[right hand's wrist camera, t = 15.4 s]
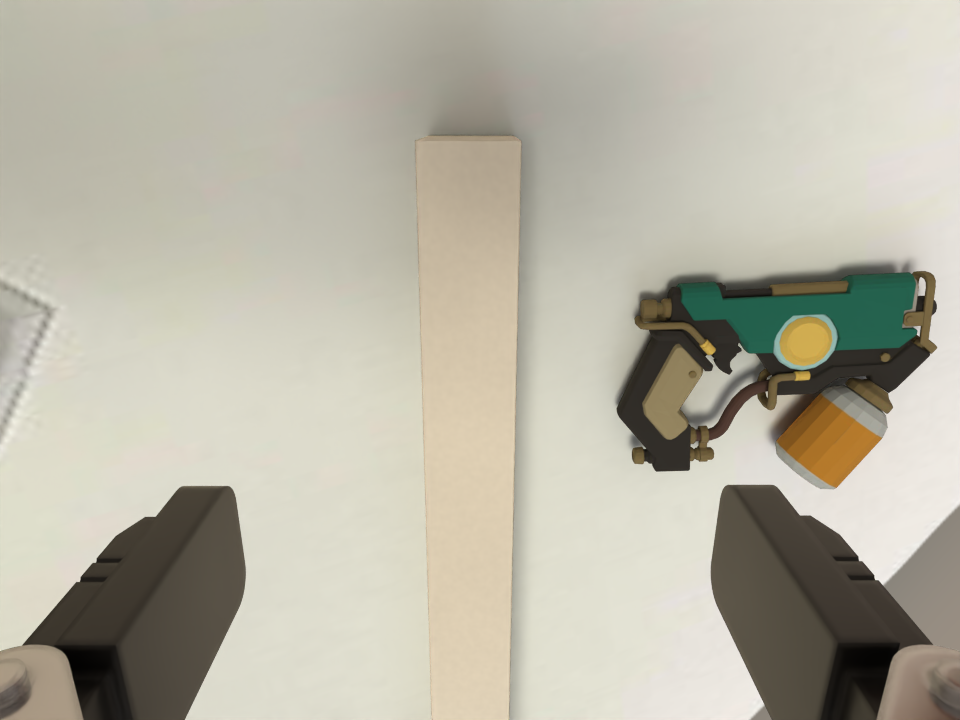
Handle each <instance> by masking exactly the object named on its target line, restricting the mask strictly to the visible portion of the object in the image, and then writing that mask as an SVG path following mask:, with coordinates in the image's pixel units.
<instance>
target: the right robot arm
mask: <svg viewBox="0 0 960 720" xmlns="http://www.w3.org/2000/svg"><path fill="white" fill-rule="evenodd" d="M245 579H246V568H245V560H244V552H243V545H242V538H241V531H240V524H239V517H238V510H237V503H236V497H235V494H234V491H233V490H232V488H231V487H229V486H182V487H180V488H179V489H178V490H177V491H176V492H175V494H174V495H173V496H172V497H171V499H170V500H169V501H168V502H167V504H166V505H165V506H164V507H163V509H162V510H161V511H160V512H159V514H158V515H157V516H156V517H145V518H143V519H141V520H140V521H138V522H137V523H135V524H134V525H132V526H131V527H129V528H128V529H126V530H124V531H123V532H121V533H120V534H118V535H117V536H116V537H115V538H114V539H113V540H112V541H111V542H110V544H109V545H108V546H107V547H106V548H105V549H104V551H103V552H102V553H101V554H100V555H99V556H98V558H97V562H96V563H92V565H91V566H90V567H89V568H88V569H87V570H86V572H85V573H84V574H83V575H82V576H81V580H80V582H76V583H75V584H74V586H73V587H72V588H71V589H70V590H69V591H68V593H67V594H66V595H65V596H64V597H63V598H62V600H61V601H60V602H59V603H58V604H57V605H56V607H55V608H54V609H53V610H52V611H51V612H50V614H49V615H48V616H47V617H46V618H45V619H44V621H43V622H42V623H41V624H40V625H39V626H38V628H37V629H36V630H35V631H34V632H33V633H32V635H31V636H30V637H29V638H28V639H27V640H26V642H25V643H24V644H23V645H22V646H18V647H14V648H9V649H6V650H3V651H0V720H185V718H186V716H187V714H188V712H189V710H190V708H191V706H192V703H193V701H194V699H195V697H196V695H197V693H198V691H199V689H200V687H201V685H202V683H203V681H204V679H205V677H206V675H207V673H208V671H209V668H210V666H211V664H212V662H213V660H214V658H215V656H216V654H217V652H218V650H219V648H220V646H221V644H222V642H223V640H224V638H225V636H226V633H227V631H228V629H229V627H230V625H231V623H232V621H233V619H234V617H235V615H236V613H237V611H238V609H239V606H240V604H241V601H242V598H243V593H244V588H245ZM711 583H712V590H713V595H714V598H715V601H716V604H717V606H718V609H719V611H720V613H721V615H722V617H723V619H724V621H725V623H726V625H727V627H728V629H729V632H730V634H731V636H732V638H733V640H734V642H735V644H736V646H737V648H738V650H739V652H740V654H741V657H742V659H743V661H744V663H745V665H746V667H747V669H748V671H749V673H750V675H751V677H752V679H753V682H754V684H755V686H756V688H757V690H758V692H759V694H760V696H761V698H762V700H763V702H764V704H765V707H766V709H767V711H768V713H769V715H770V717H771V719H772V720H960V651H957V650H954V649H951V648H946V647H942V646H935V645H933V644H932V643H931V642H930V640H929V639H928V638H927V637H926V636H925V635H924V633H923V632H922V631H921V630H920V629H919V628H918V626H917V625H916V624H915V623H914V622H913V620H912V619H911V618H910V617H909V616H908V615H907V613H906V612H905V611H904V610H903V609H902V608H901V606H900V605H899V604H898V603H897V602H896V601H895V599H894V598H893V597H892V596H891V595H890V593H889V592H888V591H887V590H886V589H885V588H884V586H883V585H882V584H881V583H880V582H879V580H875V579H874V575H873V573H872V572H871V571H870V570H869V569H868V567H867V566H866V565H865V564H864V563H863V562H862V561H859V559H858V556H857V555H856V553H855V552H854V551H853V550H852V549H851V547H850V546H849V545H848V544H847V543H846V542H845V540H844V539H843V538H842V537H841V536H840V535H839V534H838V533H836V532H835V531H833V530H832V529H830V528H829V527H827V526H826V525H824V524H823V523H821V522H819V521H818V520H816V519H815V518H813V517H812V516H800V515H799V514H798V513H797V511H796V510H795V509H794V508H793V506H792V505H791V504H790V503H789V501H788V500H787V499H786V498H785V496H784V495H783V494H782V492H781V491H780V490H779V489H778V488H777V487H776V486H774V485H727V486H725V487H724V489H723V491H722V494H721V498H720V504H719V511H718V518H717V526H716V533H715V540H714V547H713V554H712V561H711Z"/></svg>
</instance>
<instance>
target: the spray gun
mask: <svg viewBox="0 0 960 720" xmlns="http://www.w3.org/2000/svg"><path fill="white" fill-rule="evenodd" d="M920 277H922V278H924V279H925V282H926V291H925V296H918V289H919V286H918V283H919V279H920ZM935 283H936V280H935V278H934V275H933V274H931V273H929V272H926V271H917V272H913V274H911V273H910V272H907V273H886V274H866V275H849V276H847V277H845V278H843V279H842V280H841V281H830V282H810V283H791V284H772V285H770V286H769V288H767V289H745V290H725V285H723V284H722V283H715V282H701V283H681V284H678V285H677V287H672V288H670V290H669V292H668V298H666V299H663V300H662V301H661V303H657V301H656V300H655V299H651V300H642V301H641V305H640V312H641V315H640V316H637V317H635V324H636V325H637V326H638V327H639V328H640V329H645V330H649V331H650V333H651V335H652V338H651V340H650V342H649V344H648V346H647V348H646V350H645V352H644V354H643V356H642V358H641V360H640V362H639V364H638V366H637V368H636V370H635V372H634V374H633V376H632V378H631V380H630V382H629V384H628V386H627V388H626V390H625V392H624V394H623V396H622V398H621V400H620V403H619V405H618V407H617V413H618V416H619V417H620V419H621V420H622V421H623V422H624V423H625V424H626V426H627V427H628V428H629V429H630V430H631V431H632V432H633V434H634V435H635V436H636V437H637V438H638V439H639V440H640V442H641V443H642V444H643V445H644V446H645V447H646V449H643V448H642V447H635V448H633V450H632V459H633V462H634V463H635V464H643V463H644V461H647V462H648V463H649V464H652V465H653V468H654V469H655V471H689V470H690V461H693V460H694V459H696V460H699V462H701V461H707V460H712V459H713V458H714V451H713V449H712V448H711V447H707V443H708V441H709V440H713V439H716V438H718V437H720V436H721V435H723V434H724V433H725V432H726V431H727V429H728V428H729V426H730V424H731V422H732V420H733V419H734V417H735V415H736V413H737V412H738V411H739V409H740V408H741V407H742V405H743V404H744V403H745V402H746V401H747V400H748V399H750V398H751V397H752V396H754V395H756V394H757V395H758V399H759V401H760V402H761V404H762V405H763V406H764V407H765V408H767V409H768V410H773V409H774V408H775V406H776V403H777V395H792V394H815V393H817V392H818V391H820V390H821V389H823V388H824V387H826V386H827V385H828V384H830V383H831V382H833V381H834V380H836V379H837V378H841V377H856V376H866V378H867V379H856V378H850V379H849V380H848V381H847V382H846V383H845V384H846V385H847V386H848V387H846V386H844V385H842V386H830V387H829V388H827V389H826V390H824V391H823V392H821V393H820V394H819V395H818V396H817V397H816V398H815V399H814V400H813V401H812V403H811V404H810V405H809V406H808V407H807V408H806V409H805V410H804V411H803V412H802V413H801V415H800V416H799V417H798V418H797V419H796V420H795V421H794V422H793V423H792V424H791V425H790V426H789V428H788V429H787V430H786V431H785V432H784V433H783V434H782V435H781V436H780V437H779V438H778V439H777V441H776V443H775V444H776V453H777V455H778V457H779V458H780V459H781V460H782V461H783V462H784V463H786V464H787V465H788V466H789V467H790V468H791V469H792V470H794V471H795V472H796V473H797V474H799V475H800V476H801V477H803V478H804V479H805V480H807V481H808V482H809V483H811V484H813V485H814V486H816V487H818V488H820V489H835V488H837V487H838V486H839V485H840V483H841V482H842V481H843V480H844V479H845V478H846V477H847V476H848V475H849V474H850V473H851V472H852V470H853V469H854V468H855V467H856V466H857V465H858V464H859V463H860V462H861V461H862V460H863V458H864V457H865V456H866V455H867V454H868V453H869V452H870V451H871V450H872V449H873V448H874V447H875V445H876V444H877V443H878V442H879V441H880V440H881V439H882V438H883V436H884V434H885V432H886V430H887V428H888V427H887V420H886V415H885V414H884V413H883V412H885V413H889V412H890V411H891V410H892V408H893V406H892V404H891V402H890V400H889V397H888V393H889V392H891V391H893V390H894V389H896V388H897V387H898V386H899V385H900V384H901V383H902V382H903V381H904V380H905V379H906V378H907V377H908V376H909V375H910V374H911V373H912V372H913V371H914V370H915V369H916V368H918V367H919V366H920V365H921V364H922V363H923V362H924V361H925V360H926V359H927V358H928V357H929V356H930V353H931V354H932V353H933V352H934V351H935V350H936V349H937V346H936V345H935V344H934V343H932V342H931V341H930V340H929V339H928V338H929V331H930V323H931V316H932V315H933V314H934V313H935V312H936V309H937V304H936V302H935V300H934V294H935ZM652 321H666V323H645V322H652ZM913 326H921V330H920V337H919V336H917V335H916V334H917V330H916V329H915V328H913ZM738 343H740V344H741V346H742V347H743V349H744V350H745V351H747V352H748V353H756V354H757V356H758V357H759V359H760V360H761V362H762V363H763V365H764V366H765V367H766V369H764V370H763V371H762V372H761V373H760V374H759V377H758V381H757V382H755V383H752V384H750V385H748V386H746V387H745V388H743V389H741V390H740V391H739V392H738V393H737V394H736V395H735V396H734V397H733V398H732V400H731V401H730V403H729V404H728V405H727V407H726V408H725V410H724V412H723V414H722V416H721V417H720V419H719V421H718V423H717V424H716V425H715V426H714V427H712V428H709V429H708V428H707V426H698V429H697V430H695V429H694V428H693V427H691V426H690V425H689V423H688V420H687V418H686V417H685V415H684V414H683V412H682V411H681V410H680V408H681V406H682V405H683V403H684V402H685V400H686V398H687V397H688V395H689V394H690V392H691V391H692V389H693V388H694V386H695V385H696V383H697V382H698V380H699V379H700V377H701V376H702V373H703V369H704V370H705V371H712V368H713V365H712V364H711V363H710V361H709V360H708V359H707V358H706V357H705V356H706V355H712V356H713V357H714V362H715V364H716V366H717V367H718V368H719V369H720V370H721V371H723V372H725V373H727V374H729V375H730V373H731V372H732V370H731V368H730V361H731V360H732V359H733V358H734V357H735V356H736V355H737V353H739V352H740V351H742V350H741V348H740V347H739V346H738ZM770 375H772V377H771V378H770V379H769V380H767V377H768V376H770ZM881 388H882V389H881ZM884 390H885V391H884ZM766 391H768V398H767V397H766V393H765V392H766ZM887 392H888V393H887ZM882 411H883V412H882ZM696 441H699V445H698V446H697V448H695V449H693V448H692V447H690V444H694V443H695V442H696Z"/></svg>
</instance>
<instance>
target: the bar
mask: <svg viewBox="0 0 960 720" xmlns="http://www.w3.org/2000/svg"><path fill="white" fill-rule="evenodd" d="M415 155H416V190H417V225H418V260H419V295H420V330H421V365H422V400H423V435H424V470H425V505H426V540H427V575H428V610H429V645H430V680H431V715H432V720H509V698H510V652H511V605H512V559H513V512H514V466H515V420H516V373H517V327H518V281H519V234H520V188H521V140H519V139H518V138H516V137H515V136H426V137H424V138H421V139H418V140H415Z"/></svg>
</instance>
